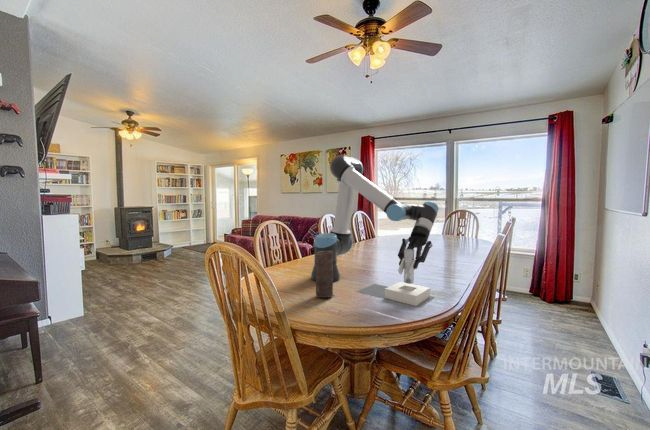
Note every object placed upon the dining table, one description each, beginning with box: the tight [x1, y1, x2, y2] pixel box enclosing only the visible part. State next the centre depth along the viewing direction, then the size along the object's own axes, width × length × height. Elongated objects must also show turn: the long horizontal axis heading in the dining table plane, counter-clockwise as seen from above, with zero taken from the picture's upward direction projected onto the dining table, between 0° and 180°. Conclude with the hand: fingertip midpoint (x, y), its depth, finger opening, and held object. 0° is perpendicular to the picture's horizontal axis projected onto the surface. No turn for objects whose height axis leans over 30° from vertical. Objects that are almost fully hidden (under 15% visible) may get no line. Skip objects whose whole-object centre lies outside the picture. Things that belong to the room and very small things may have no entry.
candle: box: [315, 251, 334, 299], centre depth 130 cm, size 8×7×20 cm
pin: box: [403, 248, 415, 284], centre depth 128 cm, size 4×4×14 cm
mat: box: [356, 283, 436, 309], centre depth 133 cm, size 30×16×1 cm, turn 50°
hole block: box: [385, 281, 431, 306], centre depth 129 cm, size 14×14×4 cm
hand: (404, 273), depth 125 cm, fingers closed on pin, 4 cm apart
